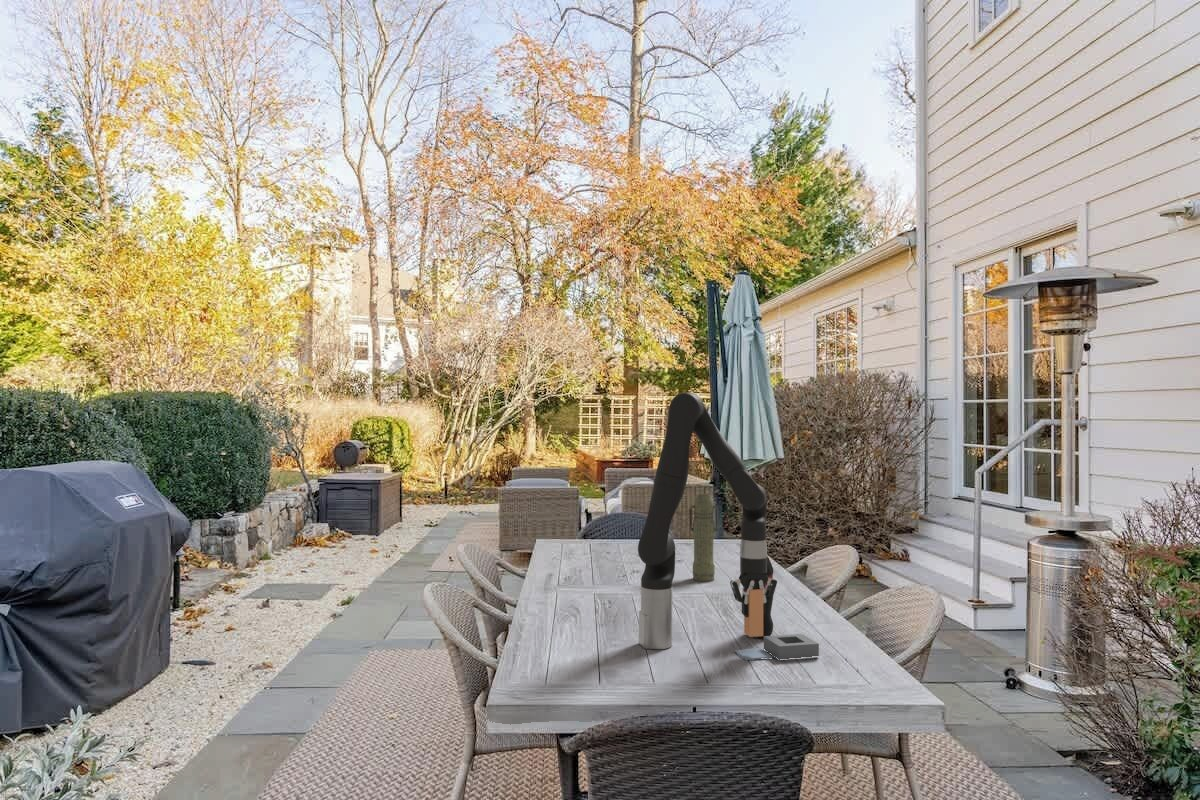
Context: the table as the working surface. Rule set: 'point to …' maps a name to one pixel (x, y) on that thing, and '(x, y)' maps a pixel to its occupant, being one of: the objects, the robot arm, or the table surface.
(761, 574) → the robot arm
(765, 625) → the cola bottle
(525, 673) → the table surface
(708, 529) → the thermos
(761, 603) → the plug
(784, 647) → the socket block
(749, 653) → the mat
